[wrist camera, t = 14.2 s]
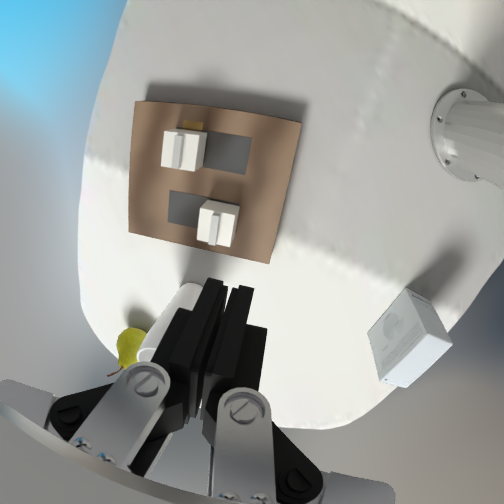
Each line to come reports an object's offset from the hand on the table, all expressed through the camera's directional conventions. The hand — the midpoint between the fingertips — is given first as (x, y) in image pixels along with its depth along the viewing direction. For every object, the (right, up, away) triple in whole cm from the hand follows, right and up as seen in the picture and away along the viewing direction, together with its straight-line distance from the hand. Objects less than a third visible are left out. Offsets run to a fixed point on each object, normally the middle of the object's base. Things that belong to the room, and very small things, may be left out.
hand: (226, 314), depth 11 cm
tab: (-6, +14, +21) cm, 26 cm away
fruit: (-20, -13, +41) cm, 48 cm away
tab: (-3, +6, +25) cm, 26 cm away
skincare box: (+25, -8, +32) cm, 41 cm away
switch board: (-5, +12, +25) cm, 28 cm away
